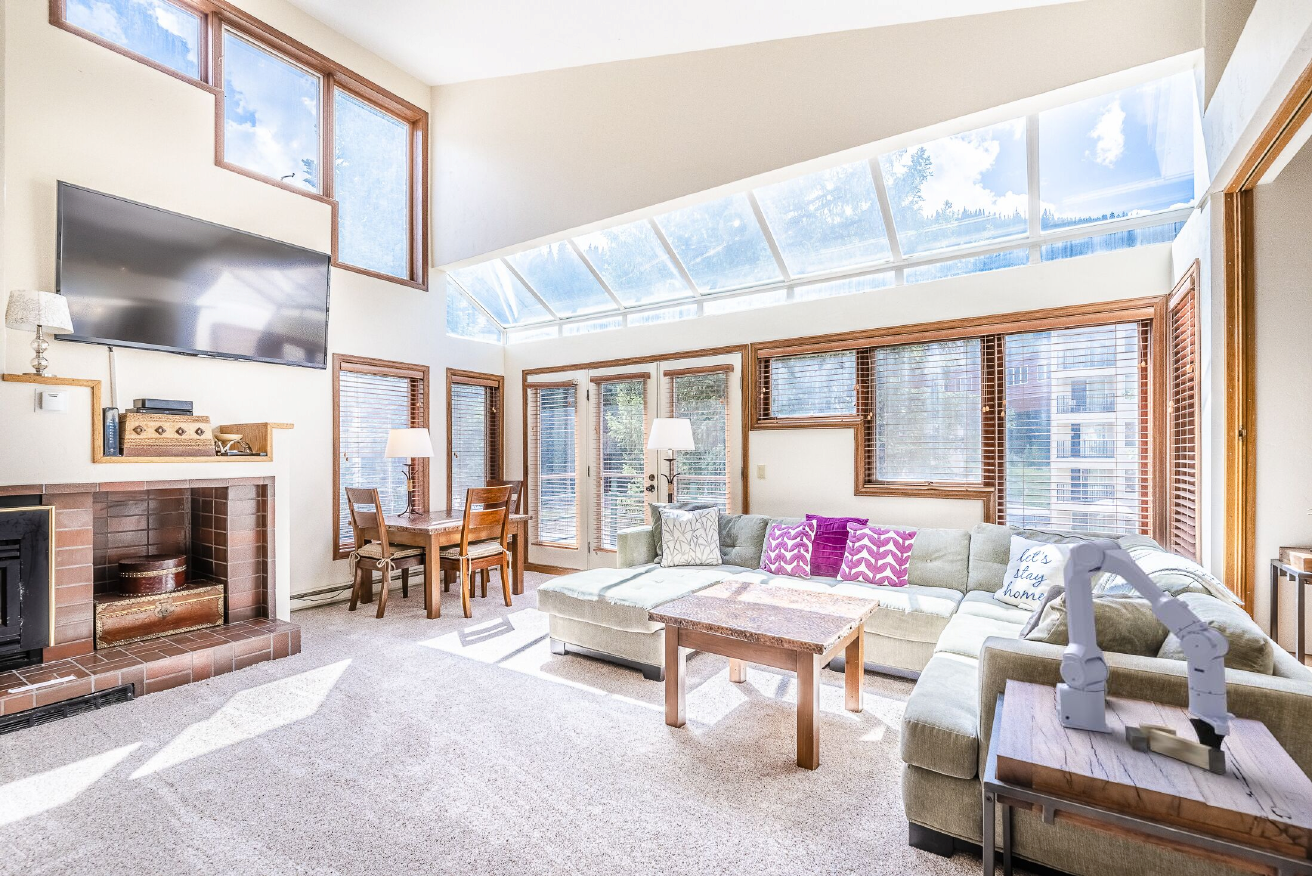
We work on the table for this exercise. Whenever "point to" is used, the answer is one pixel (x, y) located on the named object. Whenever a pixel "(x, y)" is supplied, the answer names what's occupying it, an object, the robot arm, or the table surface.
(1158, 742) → the bar
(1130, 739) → the tong pivot
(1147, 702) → the table surface
